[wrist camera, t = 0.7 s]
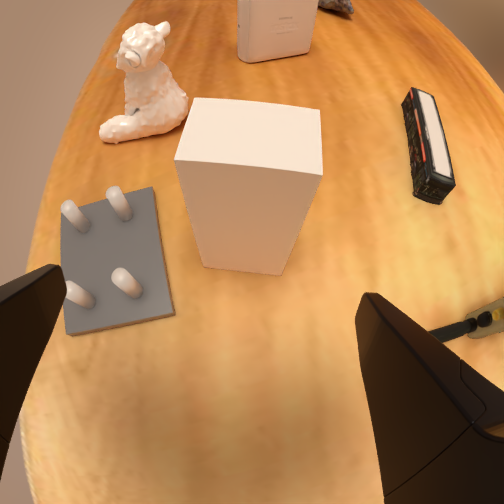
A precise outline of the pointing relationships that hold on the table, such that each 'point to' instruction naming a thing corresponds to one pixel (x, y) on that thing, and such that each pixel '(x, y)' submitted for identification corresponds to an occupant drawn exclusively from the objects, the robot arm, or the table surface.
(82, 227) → the grey peg board
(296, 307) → the table surface
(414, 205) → the table surface
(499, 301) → the handheld radio
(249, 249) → the block
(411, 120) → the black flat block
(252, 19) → the photo printer
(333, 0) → the mineral rock
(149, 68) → the white creature statuette
